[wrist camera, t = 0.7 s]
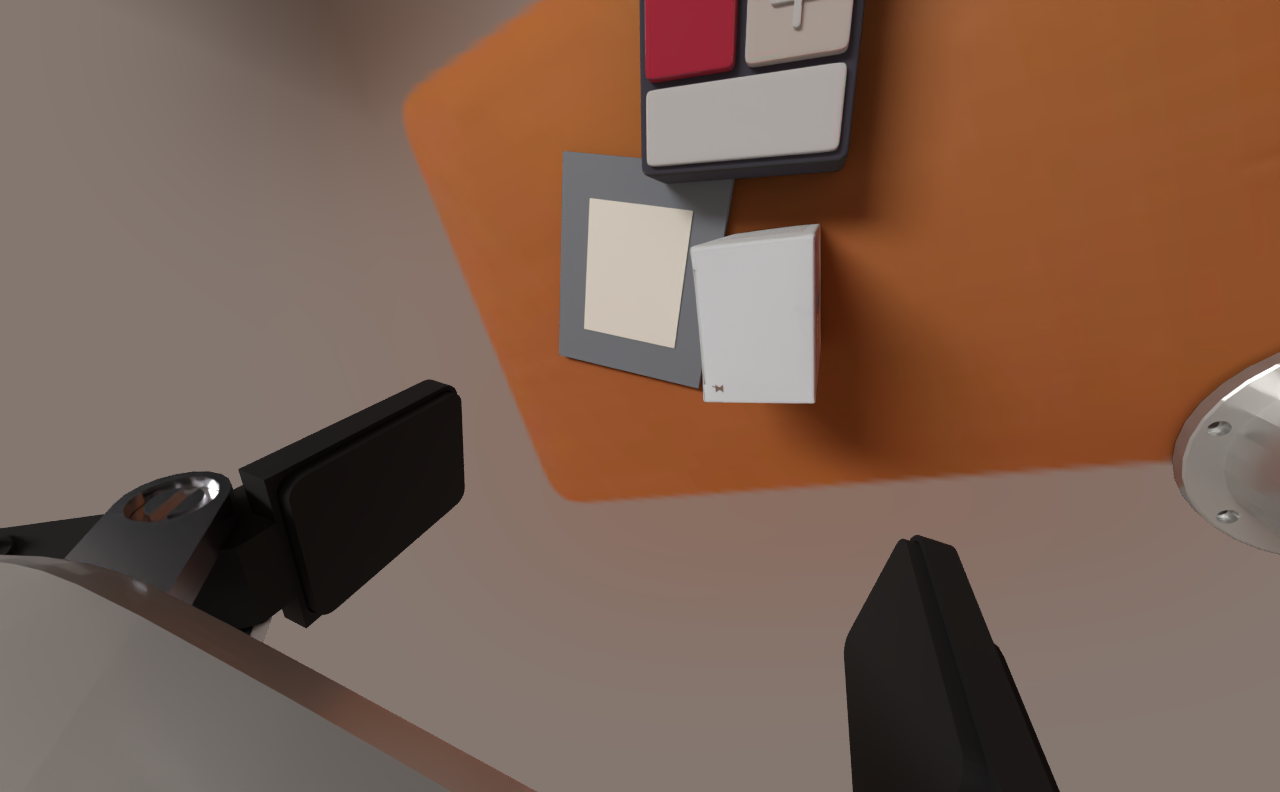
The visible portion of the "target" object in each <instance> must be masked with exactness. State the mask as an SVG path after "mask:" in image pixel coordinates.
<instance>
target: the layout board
mask: <svg viewBox="0 0 1280 792" xmlns="http://www.w3.org/2000/svg"><path fill="white" fill-rule="evenodd" d="M734 182H735V179H727V180H713V181H699V182H685V183H671V184H665V183H662V182H660V181H657V180H655V179H653V178H650V177H648V176H646V175H645V174H644V173H643V171H642V158H632V157H622V156H611V155H600V154H589V153H578V152H567V151H563V178H562V230H561V282H560V335H559V355H561V356H565V357H570V358H574V359H578V360H582V361H586V362H590V363H595V364H599V365H603V366H607V367H611V368H615V369H619V370H624V371H628V372H632V373H636V374H640V375H644V376H648V377H653V378H657V379H661V380H665V381H669V382H673V383H677V384H682V385H686V386H690V387H694V388H699V387H700V384H701V378H702V359H701V348H700V336H699V325H698V315H697V304H696V293H695V284H694V275H693V268H692V260H691V254H690V249H691V247H692V246H695V245H699V244H703V243H706V242H709V241H713V240H716V239H719V238H723V237H725V235H726V229H727V224H728V218H729V212H730V206H731V200H732V194H733V188H734Z"/></svg>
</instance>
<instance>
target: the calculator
mask: <svg viewBox="0 0 1280 792" xmlns="http://www.w3.org/2000/svg"><path fill="white" fill-rule="evenodd" d="M864 6H865V0H640V67H641V142H642V171H643V173H644V174H645V175H646V176H648V177H650V178H653V179H655V180H657V181H660V182H662V183H665V184H671V183H685V182H699V181H713V180H727V179H741V178H755V177H769V176H783V175H796V174H810V173H824V172H836V171H839V170H841V169H842V168H843V167H844V165H845V162H846V158H847V154H848V149H849V141H850V132H851V123H852V114H853V105H854V96H855V87H856V78H857V69H858V60H859V51H860V42H861V33H862V24H863V15H864Z"/></svg>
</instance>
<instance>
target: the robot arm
mask: <svg viewBox="0 0 1280 792" xmlns="http://www.w3.org/2000/svg"><path fill="white" fill-rule="evenodd" d="M461 408H462V407H461V398H460V397H459V396H458V395H457V392H456V390H455V388H454V387H452V386H450V385H447V384H443V383H440V382H437V381H434V380H425V381H423V382H421V383H419V384H416V385H414V386H412V387H410V388H408V389H406V390H404V391H402V392H400V393H398V394H396V395H393V396H391V397H389V398H387V399H385V400H383V401H381V402H379V403H377V404H374V405H372V406H370V407H368V408H366V409H364V410H362V411H360V412H358V413H355V414H353V415H351V416H349V417H347V418H345V419H343V420H341V421H339V422H337V423H334V424H332V425H330V426H328V427H326V428H324V429H322V430H320V431H318V432H316V433H313V434H311V435H309V436H307V437H305V438H303V439H301V440H299V441H297V442H295V443H293V444H290V445H288V446H286V447H284V448H282V449H280V450H278V451H276V452H274V453H271V454H269V455H267V456H265V457H264V458H261V459H259V460H257V461H255V462H253V463H251V464H248V465H247V466H244V467H242V468H240V469H239V473H240V476H241V480H242V483H243V485H242V486H240V487H238V488H236V489H234V490H233V488H232V484H231V482H230V480H229V478H227V477H225V476H224V475H222V474H219V473H214V472H209V471H208V472H207V471H206V472H205V471H204V472H187V473H181V474H175V475H171V476H167V477H163V478H160V479H156V480H154V481H151V482H149V483H146V484H144V485H141V486H139V487H138V488H136V489H134V490H132V491H130V492H128V493H127V494H125V495H124V496H123V497H121V498H120V499H119V500H118V501H117V502H115V503H114V504H113V505H112V506H111V508H110V509H109V510H108V511H107V512H106V513H105V514H103V515H95V516H88V517H81V518H74V519H67V520H59V521H51V522H45V523H37V524H31V525H23V526H16V527H8V528H0V792H536V791H534V790H533V789H531V788H529V787H527V786H525V785H524V784H522V783H520V782H518V781H516V780H515V779H513V778H511V777H509V776H507V775H505V774H504V773H502V772H500V771H498V770H496V769H494V768H493V767H491V766H489V765H487V764H485V763H483V762H482V761H480V760H478V759H476V758H474V757H472V756H471V755H468V754H467V753H465V752H463V751H462V750H460V749H458V748H456V747H454V746H452V745H450V744H449V743H447V742H445V741H443V740H441V739H440V738H438V737H436V736H434V735H432V734H430V733H429V732H426V731H425V730H423V729H421V728H419V727H418V726H416V725H414V724H412V723H410V722H408V721H407V720H405V719H403V718H401V717H399V716H397V715H396V714H394V713H392V712H390V711H388V710H386V709H384V708H382V707H381V706H379V705H377V704H375V703H374V702H372V701H370V700H368V699H366V698H364V697H363V696H361V695H358V694H357V693H355V692H353V691H351V690H349V689H348V688H346V687H344V686H342V685H340V684H339V683H337V682H335V681H333V680H331V679H329V678H327V677H326V676H324V675H322V674H320V673H318V672H316V671H314V670H313V669H310V668H309V667H307V666H305V665H303V664H301V663H299V662H298V661H296V660H294V659H292V658H290V657H288V656H286V655H284V654H283V653H281V652H279V651H277V650H275V649H273V648H271V647H270V646H268V645H266V644H264V643H263V641H264V638H265V635H266V632H267V630H268V627H269V624H270V622H271V619H272V616H273V615H274V614H276V613H277V612H278V611H279V610H281V609H282V610H283V613H284V616H285V617H286V618H287V619H289V620H291V621H293V622H295V623H297V624H299V625H301V626H303V627H305V628H307V627H309V625H311V624H312V623H313V622H314V621H316V620H317V619H318V618H319V617H320V616H321V615H325V614H329V613H331V612H332V611H334V610H335V609H336V608H337V607H339V606H340V605H341V604H342V603H344V602H345V601H346V600H347V599H348V598H349V597H350V596H351V595H353V594H354V593H355V592H356V591H357V590H358V589H360V588H361V587H362V586H363V585H364V584H365V583H367V582H368V581H369V580H370V579H371V578H372V577H374V576H375V575H376V574H377V573H378V572H379V571H380V570H382V569H383V568H384V567H385V566H386V565H387V564H389V562H391V561H392V560H393V559H394V558H395V557H397V556H398V555H399V554H400V553H401V552H402V551H403V550H405V549H406V548H407V547H408V546H409V545H410V544H412V543H413V542H414V541H415V540H416V539H417V538H419V537H420V536H421V535H422V534H423V533H424V532H425V531H427V530H428V529H429V528H430V527H431V526H432V525H434V523H436V522H437V521H438V520H439V519H440V518H442V517H443V516H444V515H445V514H446V513H447V512H449V511H450V510H451V509H452V508H453V507H454V506H455V505H457V504H458V503H459V501H460V500H461V498H462V496H463V494H464V489H465V484H464V459H463V435H462V409H461ZM1172 463H1173V469H1174V478H1175V481H1176V483H1177V485H1178V487H1179V489H1180V492H1181V494H1182V496H1183V497H1184V498H1185V499H1186V501H1187V502H1188V503H1189V504H1190V505H1191V507H1192V508H1193V509H1194V510H1195V511H1196V512H1197V513H1198V514H1199V515H1200V516H1202V517H1203V518H1204V519H1205V520H1206V521H1208V522H1209V523H1210V524H1211V525H1212V526H1214V527H1215V528H1217V529H1218V530H1220V531H1222V532H1223V533H1225V534H1227V535H1229V536H1230V537H1232V538H1233V539H1235V540H1238V541H1240V542H1243V543H1245V544H1248V545H1250V546H1252V547H1255V548H1258V549H1260V550H1264V551H1268V552H1272V553H1277V554H1280V352H1279V353H1277V354H1275V355H1273V356H1271V357H1269V358H1267V359H1264V360H1262V361H1260V362H1258V363H1256V364H1254V365H1252V366H1250V367H1248V368H1246V369H1245V370H1243V371H1241V372H1240V373H1238V374H1237V375H1235V376H1234V377H1232V378H1231V379H1229V380H1228V381H1226V382H1224V383H1223V384H1221V385H1220V386H1219V387H1218V388H1217V389H1216V390H1214V391H1213V392H1212V393H1211V394H1210V395H1209V396H1208V397H1207V398H1205V399H1204V400H1203V401H1202V402H1201V403H1200V404H1199V405H1198V406H1197V408H1196V409H1195V410H1194V412H1193V413H1192V414H1191V415H1190V417H1189V418H1188V419H1187V420H1186V422H1185V423H1184V425H1183V427H1182V430H1181V432H1180V434H1179V436H1178V438H1177V440H1176V443H1175V448H1174V454H1173V459H1172ZM844 662H845V676H846V693H847V709H848V723H849V737H850V738H849V739H850V753H851V768H852V784H853V792H1060V791H1059V789H1058V786H1057V784H1056V781H1055V779H1054V777H1053V774H1052V772H1051V769H1050V767H1049V765H1048V762H1047V760H1046V757H1045V755H1044V752H1043V750H1042V748H1041V745H1040V743H1039V740H1038V738H1037V735H1036V733H1035V731H1034V728H1033V726H1032V723H1031V721H1030V719H1029V716H1028V714H1027V711H1026V709H1025V706H1024V704H1023V702H1022V699H1021V697H1020V694H1019V692H1018V689H1017V687H1016V685H1015V682H1014V680H1013V677H1012V675H1011V672H1010V670H1009V668H1008V665H1007V663H1006V660H1005V658H1004V656H1003V654H1002V652H1001V651H1000V649H999V647H998V646H997V645H995V644H994V643H993V640H992V638H991V635H990V633H989V630H988V628H987V625H986V623H985V621H984V618H983V616H982V613H981V610H980V608H979V605H978V603H977V601H976V598H975V596H974V593H973V591H972V588H971V586H970V583H969V581H968V578H967V576H966V573H965V571H964V568H963V566H962V563H961V561H960V558H959V556H958V553H957V551H956V549H955V548H954V547H953V546H951V545H948V544H944V543H942V542H939V541H935V540H932V539H929V538H926V537H923V536H920V535H915V536H913V537H912V538H911V539H910V541H909V540H905V539H901V540H899V541H898V543H897V544H896V546H895V548H894V550H893V552H892V554H891V555H890V558H889V559H888V561H887V563H886V565H885V566H884V568H883V571H882V572H881V574H880V576H879V578H878V579H877V582H876V583H875V585H874V587H873V589H872V591H871V592H870V594H869V596H868V598H867V600H866V602H865V604H864V605H863V608H862V609H861V611H860V613H859V615H858V617H857V618H856V620H855V622H854V624H853V626H852V628H851V630H850V631H849V634H848V636H847V638H846V642H845V647H844Z"/></svg>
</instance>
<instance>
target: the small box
mask: <svg viewBox="0 0 1280 792" xmlns="http://www.w3.org/2000/svg"><path fill="white" fill-rule="evenodd" d="M690 254H691V260H692V268H693V275H694V284H695V293H696V304H697V315H698V325H699V336H700V348H701V359H702V374H703V400H704V401H705V402H739V403H810V404H813V403H815V402H816V396H817V383H818V373H819V363H820V351H821V314H820V299H821V226H820V224H810V225H800V226H791V227H783V228H775V229H767V230H760V231H753V232H746V233H739V234H733V235H729V236H726V237H723V238H719V239H716V240H713V241H709V242H706V243H703V244H699V245H695V246H692V247H691V249H690Z"/></svg>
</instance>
